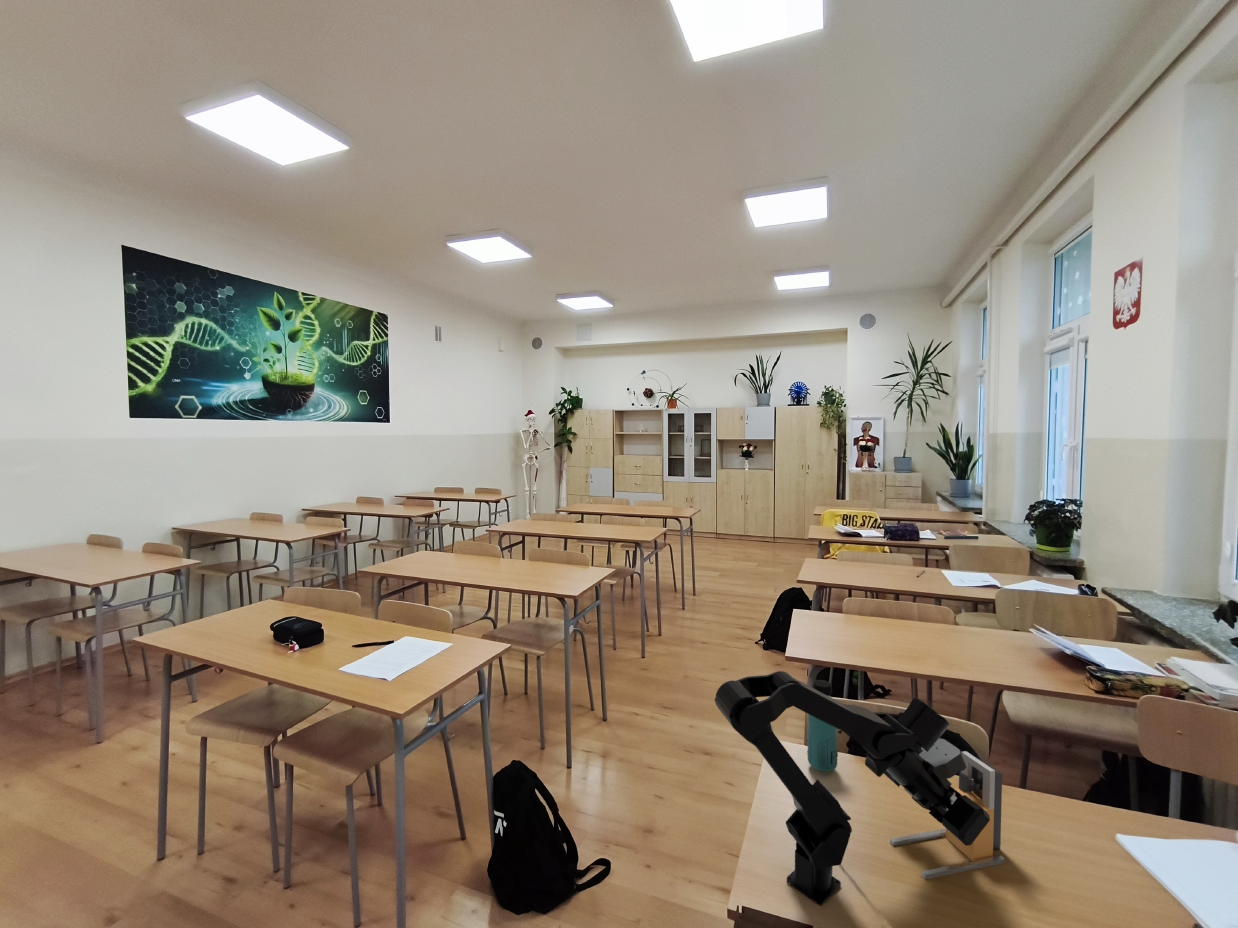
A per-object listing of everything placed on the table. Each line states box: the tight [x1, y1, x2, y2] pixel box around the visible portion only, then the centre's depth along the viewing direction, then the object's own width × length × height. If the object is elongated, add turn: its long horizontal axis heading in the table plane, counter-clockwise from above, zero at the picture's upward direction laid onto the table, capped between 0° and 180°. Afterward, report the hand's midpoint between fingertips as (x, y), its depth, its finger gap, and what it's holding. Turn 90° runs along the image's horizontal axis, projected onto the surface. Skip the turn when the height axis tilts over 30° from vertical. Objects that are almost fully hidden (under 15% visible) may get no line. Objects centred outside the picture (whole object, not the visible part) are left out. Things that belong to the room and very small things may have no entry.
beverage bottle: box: [806, 679, 839, 772], centre depth 122 cm, size 6×7×20 cm
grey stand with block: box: [889, 763, 1006, 880], centre depth 96 cm, size 18×10×15 cm, turn 102°
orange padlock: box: [945, 750, 995, 861], centre depth 97 cm, size 4×6×16 cm, turn 12°
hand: (958, 819), depth 97 cm, fingers closed, pressing on orange padlock
